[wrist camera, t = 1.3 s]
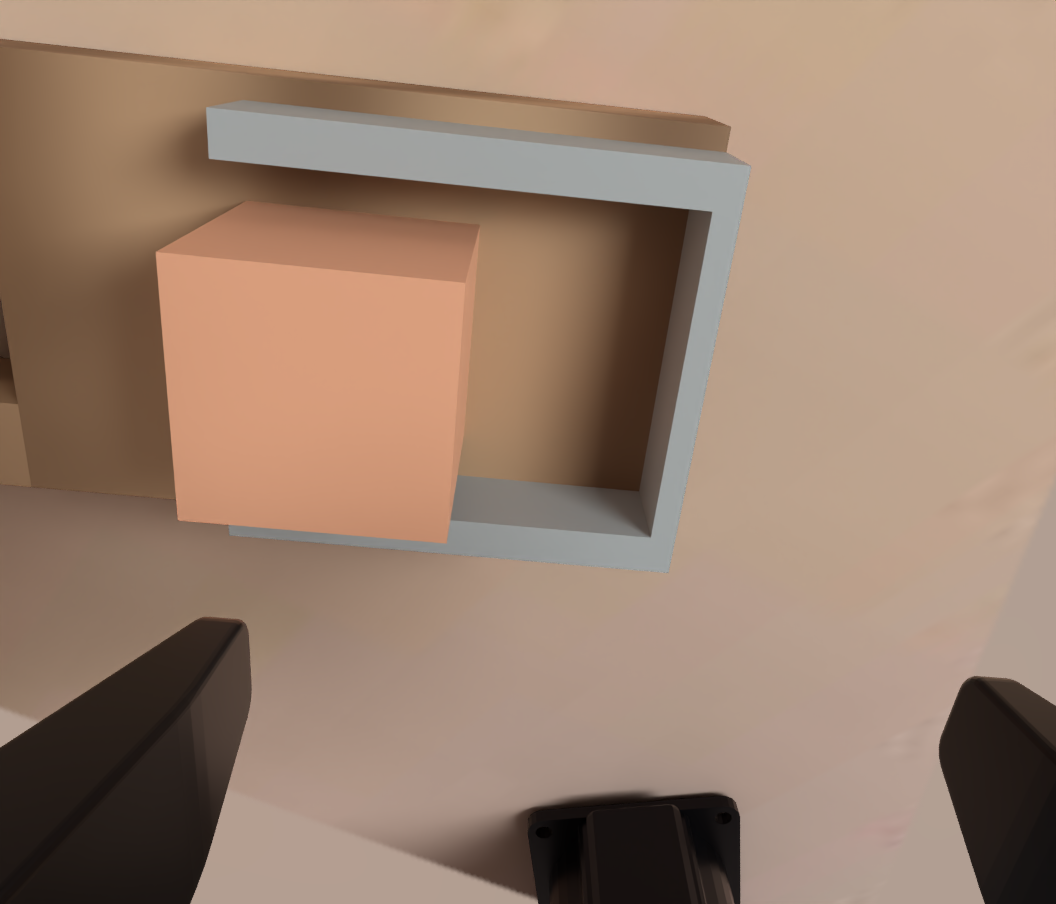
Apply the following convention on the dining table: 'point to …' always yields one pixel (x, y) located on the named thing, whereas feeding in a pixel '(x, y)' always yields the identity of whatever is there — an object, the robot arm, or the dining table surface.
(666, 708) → the dining table surface
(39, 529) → the dining table surface
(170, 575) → the dining table surface
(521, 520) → the grey u-shaped piece
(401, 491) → the block
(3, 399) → the tray
